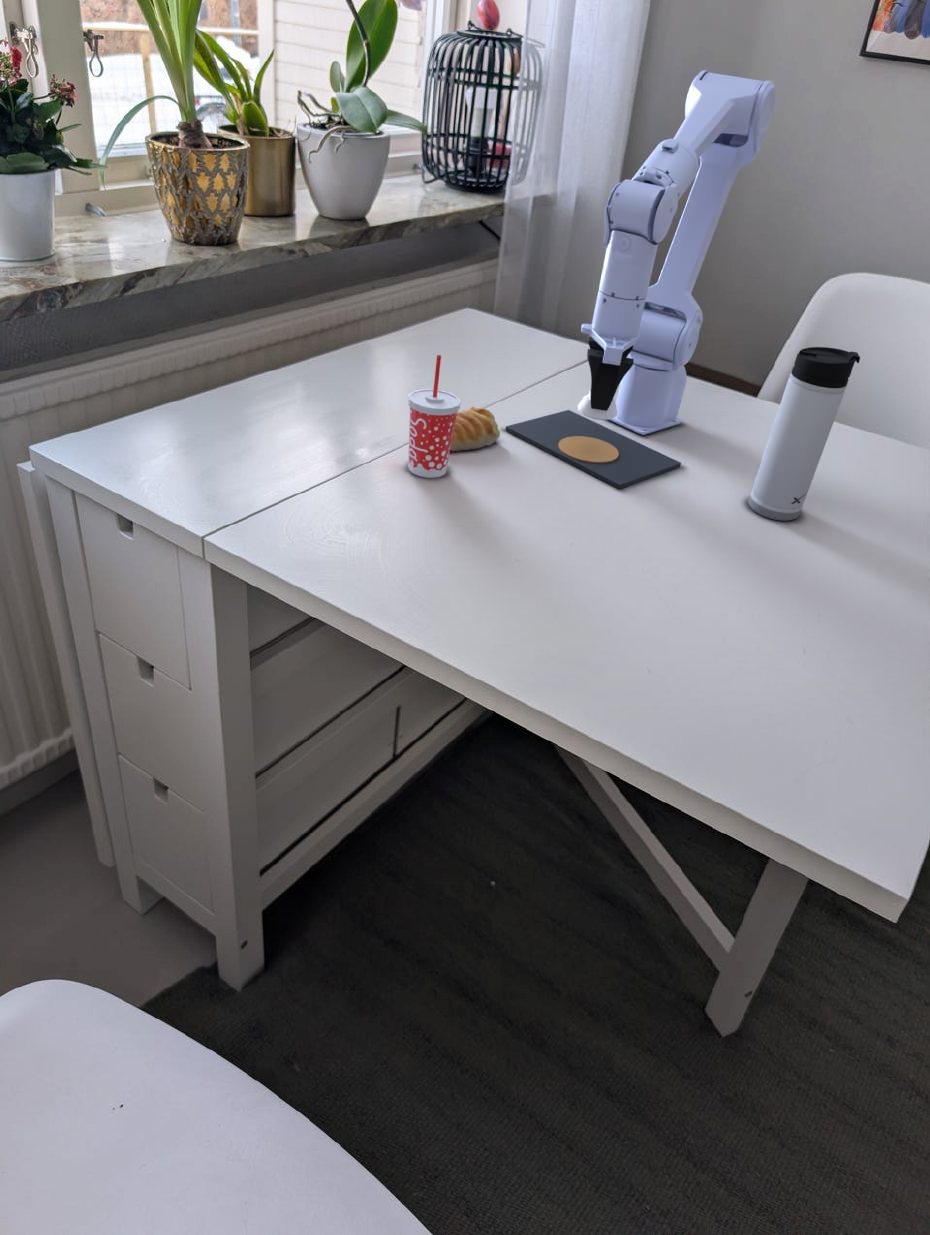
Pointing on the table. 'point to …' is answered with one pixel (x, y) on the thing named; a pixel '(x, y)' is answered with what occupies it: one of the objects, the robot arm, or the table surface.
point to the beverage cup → (431, 428)
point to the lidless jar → (595, 413)
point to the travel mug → (801, 431)
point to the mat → (594, 448)
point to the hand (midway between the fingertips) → (599, 402)
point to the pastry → (474, 429)
